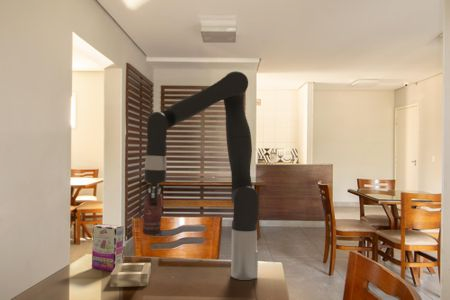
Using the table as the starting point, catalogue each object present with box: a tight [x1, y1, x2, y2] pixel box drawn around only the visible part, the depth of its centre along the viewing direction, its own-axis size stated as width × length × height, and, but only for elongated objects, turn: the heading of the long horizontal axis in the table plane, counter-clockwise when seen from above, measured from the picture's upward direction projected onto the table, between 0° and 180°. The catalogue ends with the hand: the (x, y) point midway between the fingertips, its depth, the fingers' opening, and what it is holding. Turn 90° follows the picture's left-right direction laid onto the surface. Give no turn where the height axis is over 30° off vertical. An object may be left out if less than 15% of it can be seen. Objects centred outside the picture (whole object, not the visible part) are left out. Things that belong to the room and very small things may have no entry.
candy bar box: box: [91, 223, 125, 273], centre depth 130 cm, size 11×5×16 cm, turn 68°
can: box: [142, 192, 163, 236], centre depth 119 cm, size 6×6×14 cm
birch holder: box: [109, 262, 152, 288], centre depth 118 cm, size 12×12×4 cm
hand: (153, 217), depth 119 cm, fingers closed
